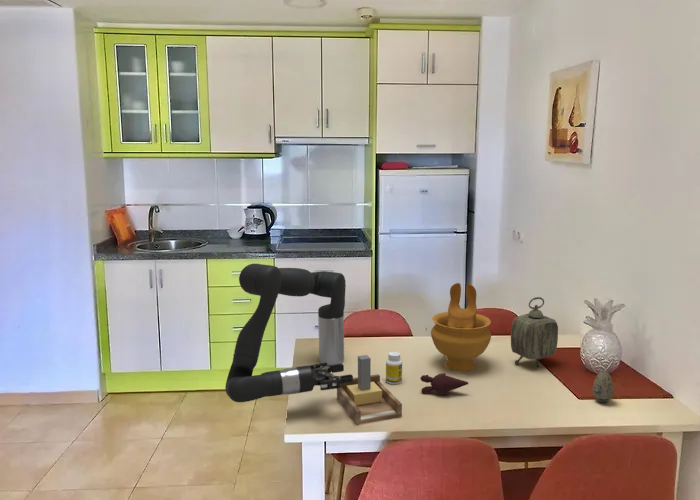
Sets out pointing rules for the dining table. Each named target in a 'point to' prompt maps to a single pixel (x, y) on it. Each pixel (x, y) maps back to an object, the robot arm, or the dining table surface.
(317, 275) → the robot arm
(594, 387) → the decorative egg
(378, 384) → the bay
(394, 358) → the supplement bottle
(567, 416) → the dining table surface
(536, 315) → the tabletop clock
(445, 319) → the decorative bowl
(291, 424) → the dining table surface
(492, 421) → the dining table surface
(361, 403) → the block with grey post
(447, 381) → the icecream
